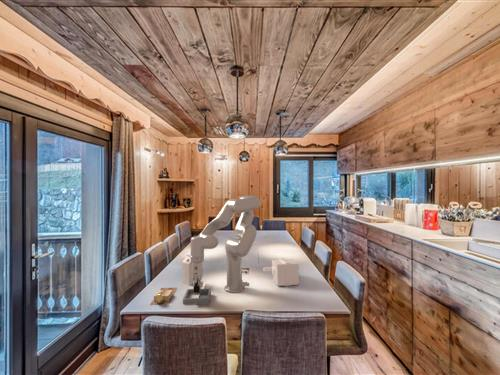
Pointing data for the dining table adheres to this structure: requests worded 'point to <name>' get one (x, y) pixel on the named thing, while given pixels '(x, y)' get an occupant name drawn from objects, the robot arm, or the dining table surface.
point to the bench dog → (160, 298)
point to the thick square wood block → (167, 294)
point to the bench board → (165, 301)
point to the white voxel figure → (284, 272)
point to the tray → (203, 297)
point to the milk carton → (187, 270)
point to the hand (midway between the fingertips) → (197, 290)
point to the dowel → (199, 290)
